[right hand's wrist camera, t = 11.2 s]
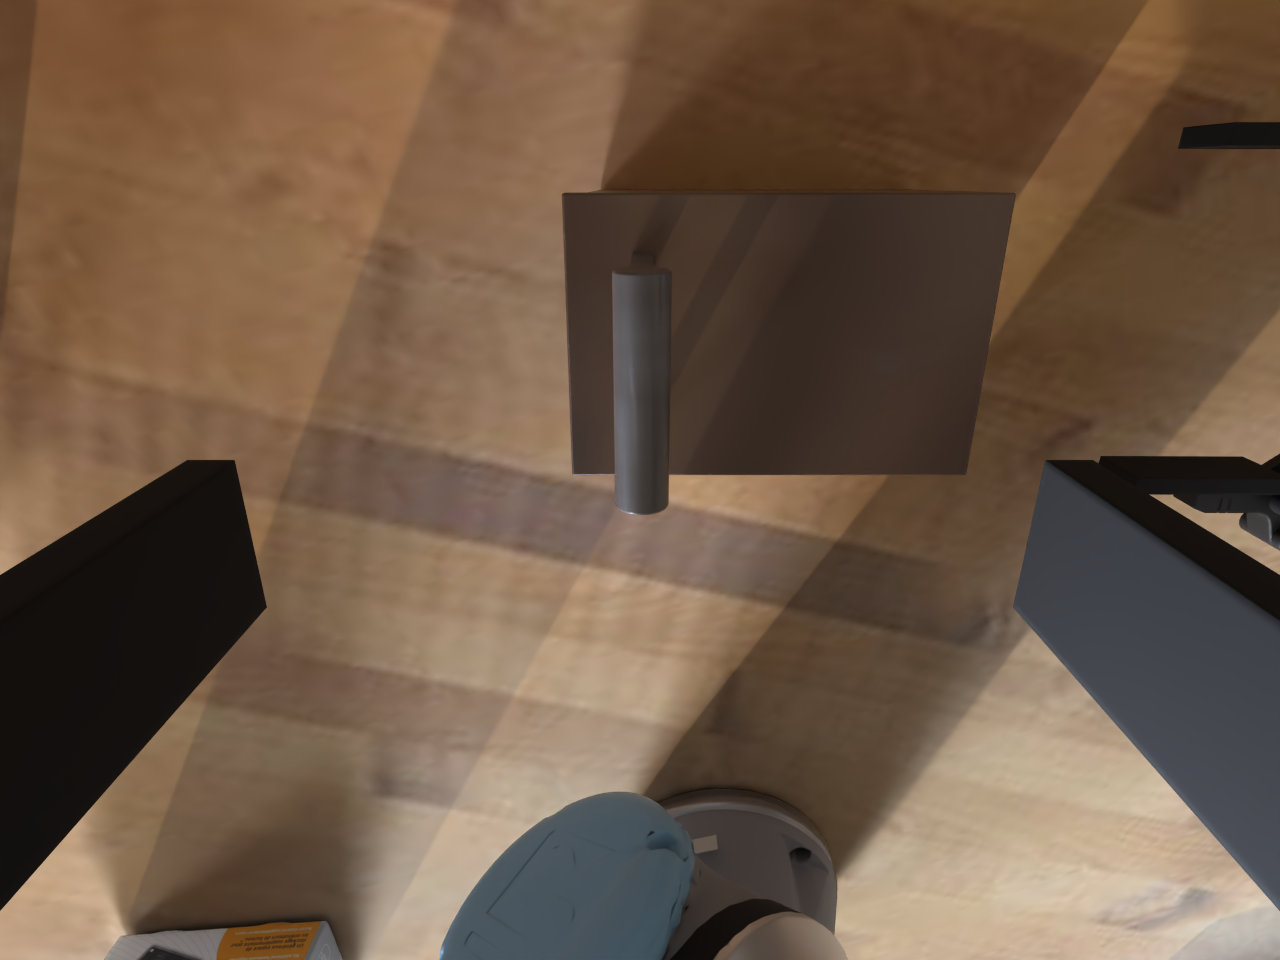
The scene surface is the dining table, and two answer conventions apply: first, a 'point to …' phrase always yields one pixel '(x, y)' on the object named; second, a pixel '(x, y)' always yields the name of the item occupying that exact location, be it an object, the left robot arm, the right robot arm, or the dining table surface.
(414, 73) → the dining table surface
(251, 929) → the hard drive box
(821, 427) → the lid
